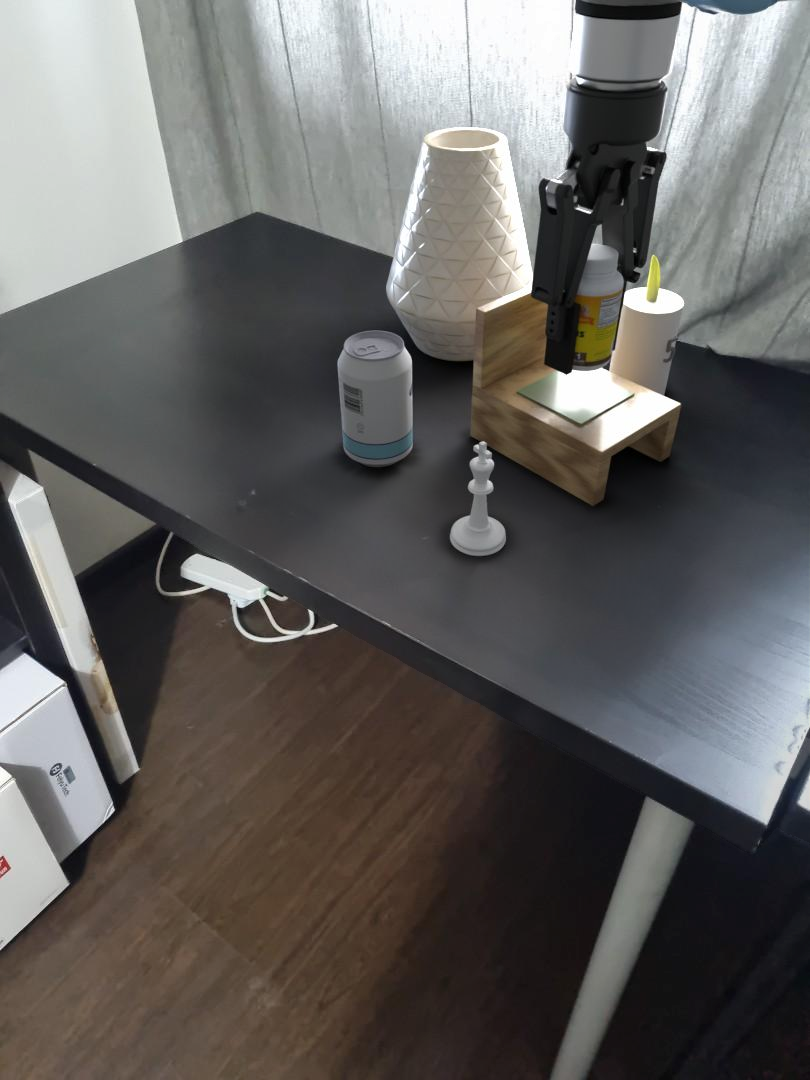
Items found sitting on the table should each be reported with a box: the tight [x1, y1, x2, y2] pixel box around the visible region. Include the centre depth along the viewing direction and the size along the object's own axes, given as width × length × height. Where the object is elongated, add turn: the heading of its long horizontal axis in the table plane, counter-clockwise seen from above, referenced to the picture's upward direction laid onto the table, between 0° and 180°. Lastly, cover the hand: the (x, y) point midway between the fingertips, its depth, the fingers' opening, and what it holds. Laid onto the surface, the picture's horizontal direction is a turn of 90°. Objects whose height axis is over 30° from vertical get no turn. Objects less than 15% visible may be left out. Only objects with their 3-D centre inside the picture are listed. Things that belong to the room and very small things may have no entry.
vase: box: [385, 126, 533, 362], centre depth 94 cm, size 17×17×23 cm
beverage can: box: [337, 330, 414, 468], centre depth 79 cm, size 7×7×12 cm
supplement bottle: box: [563, 243, 624, 371], centre depth 74 cm, size 6×6×10 cm
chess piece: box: [449, 441, 507, 557], centre depth 70 cm, size 5×5×10 cm
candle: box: [608, 254, 685, 396], centre depth 87 cm, size 6×6×15 cm
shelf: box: [470, 285, 682, 507], centre depth 79 cm, size 16×12×14 cm
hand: (579, 356), depth 77 cm, fingers closed on supplement bottle, 6 cm apart
